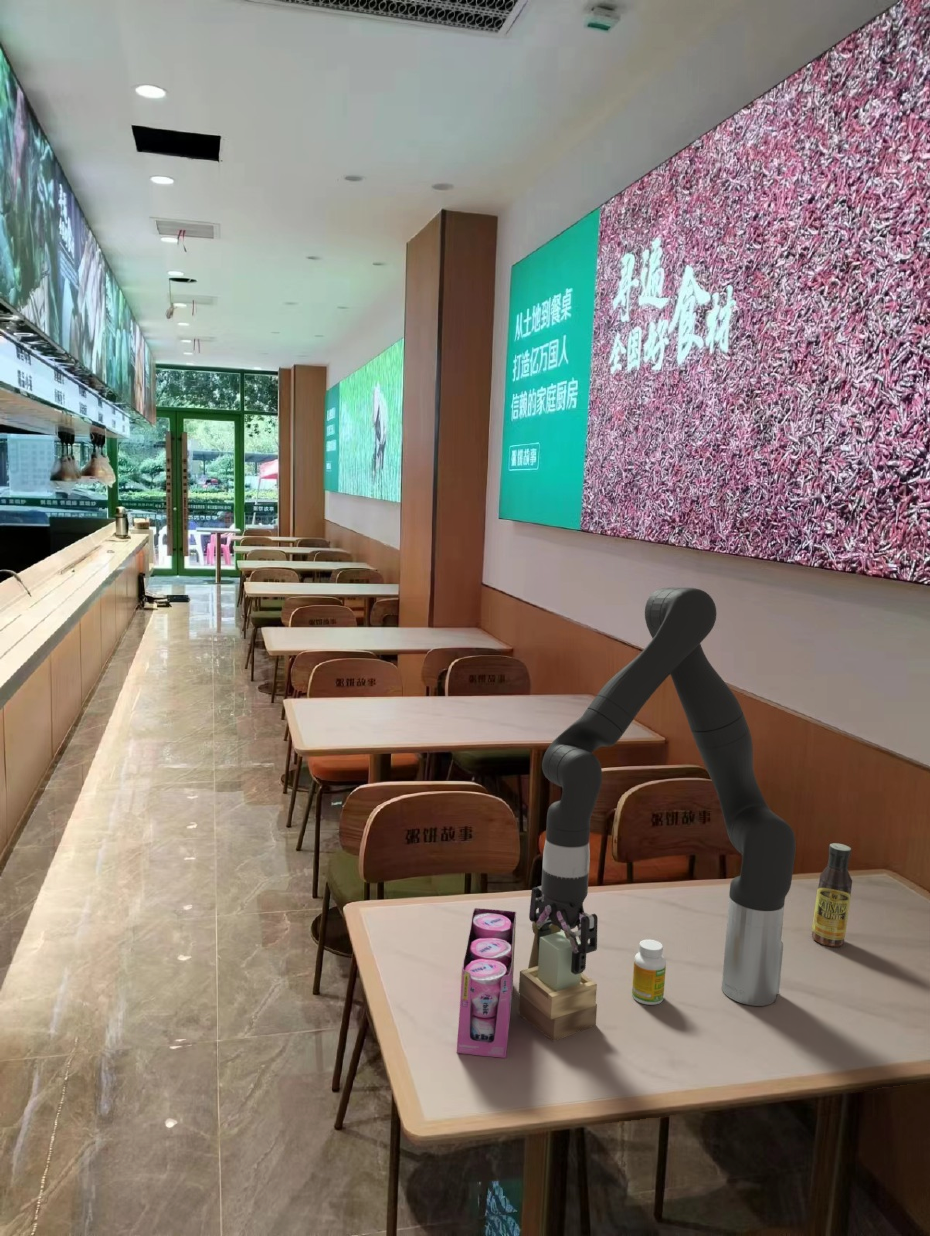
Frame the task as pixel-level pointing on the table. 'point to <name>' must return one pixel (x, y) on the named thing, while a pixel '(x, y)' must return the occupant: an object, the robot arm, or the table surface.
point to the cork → (535, 951)
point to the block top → (556, 994)
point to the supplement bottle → (649, 973)
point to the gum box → (487, 984)
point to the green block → (556, 962)
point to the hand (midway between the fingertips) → (560, 961)
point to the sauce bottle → (833, 898)
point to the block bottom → (557, 1020)
